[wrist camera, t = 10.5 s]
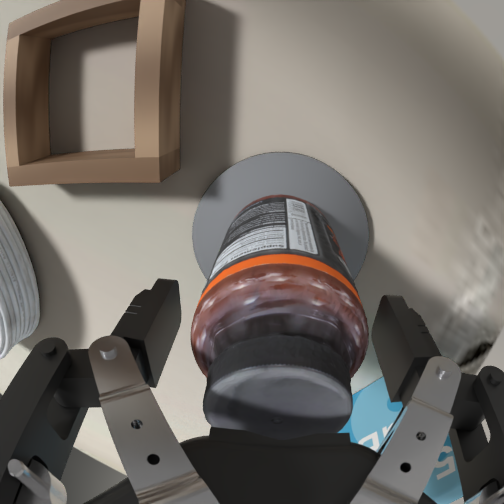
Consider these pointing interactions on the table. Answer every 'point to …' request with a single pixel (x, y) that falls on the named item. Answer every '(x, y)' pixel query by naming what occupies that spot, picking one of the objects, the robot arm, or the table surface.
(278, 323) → the supplement bottle
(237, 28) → the table surface
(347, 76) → the table surface
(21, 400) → the robot arm
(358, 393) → the data package
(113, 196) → the table surface
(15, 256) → the cable
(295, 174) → the felt coaster
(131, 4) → the walnut holder
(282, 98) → the table surface
